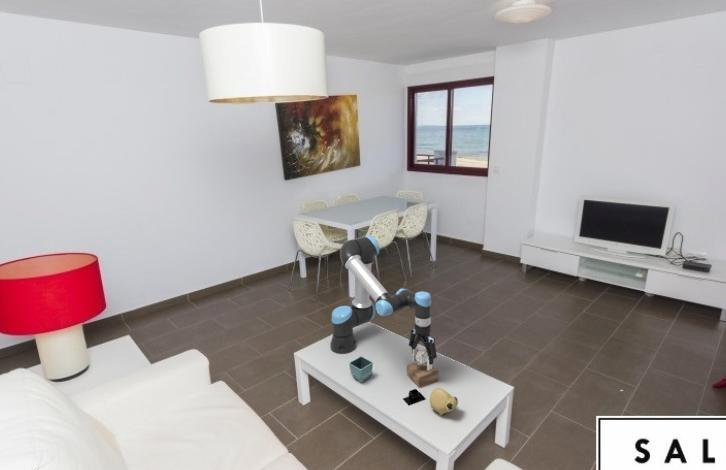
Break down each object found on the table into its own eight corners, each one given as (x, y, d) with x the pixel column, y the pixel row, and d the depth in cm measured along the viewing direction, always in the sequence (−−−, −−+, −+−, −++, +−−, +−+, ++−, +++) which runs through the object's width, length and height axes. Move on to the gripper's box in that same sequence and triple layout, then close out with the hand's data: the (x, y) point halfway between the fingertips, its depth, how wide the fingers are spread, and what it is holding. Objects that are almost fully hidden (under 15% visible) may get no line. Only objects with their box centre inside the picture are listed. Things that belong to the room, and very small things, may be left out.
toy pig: (449, 424, 160) (450, 402, 157) (425, 411, 168) (425, 390, 165) (460, 411, 167) (461, 390, 164) (437, 399, 175) (437, 379, 172)
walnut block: (407, 376, 193) (407, 365, 191) (425, 369, 197) (425, 359, 196) (419, 388, 183) (419, 377, 182) (437, 381, 188) (438, 371, 186)
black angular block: (406, 409, 170) (406, 400, 169) (398, 399, 177) (398, 391, 175) (429, 400, 175) (429, 391, 174) (420, 391, 182) (420, 382, 180)
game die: (424, 370, 191) (434, 353, 191) (425, 374, 182) (436, 356, 183) (408, 360, 192) (419, 343, 192) (409, 364, 184) (419, 346, 184)
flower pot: (361, 370, 198) (361, 355, 196) (373, 377, 192) (373, 362, 189) (349, 378, 192) (348, 362, 190) (361, 386, 186) (360, 370, 184)
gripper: (401, 317, 188) (401, 357, 194) (434, 335, 172) (433, 378, 178) (412, 313, 193) (411, 352, 199) (445, 329, 176) (444, 371, 182)
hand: (422, 364), depth 188 cm, fingers closed on game die, 9 cm apart
